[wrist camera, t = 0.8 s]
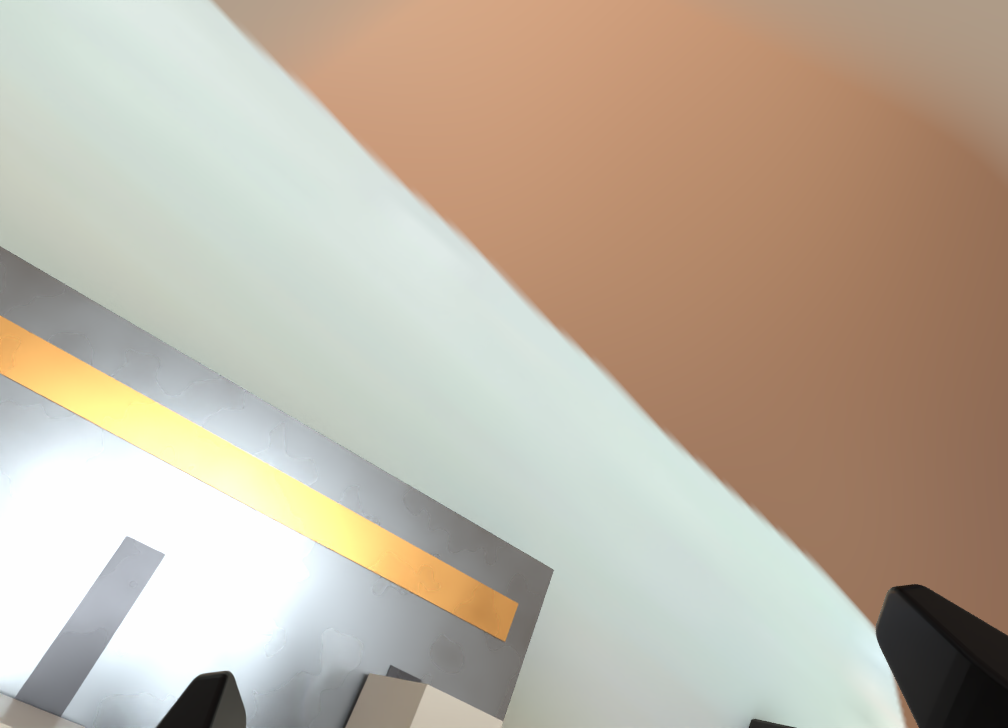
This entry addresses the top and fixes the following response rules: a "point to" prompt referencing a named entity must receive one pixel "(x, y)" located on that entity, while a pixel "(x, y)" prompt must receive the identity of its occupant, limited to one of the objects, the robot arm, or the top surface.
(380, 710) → the block
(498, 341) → the top surface
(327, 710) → the switch panel
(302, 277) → the top surface
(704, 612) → the top surface
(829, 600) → the top surface
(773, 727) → the cigar case
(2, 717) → the block
